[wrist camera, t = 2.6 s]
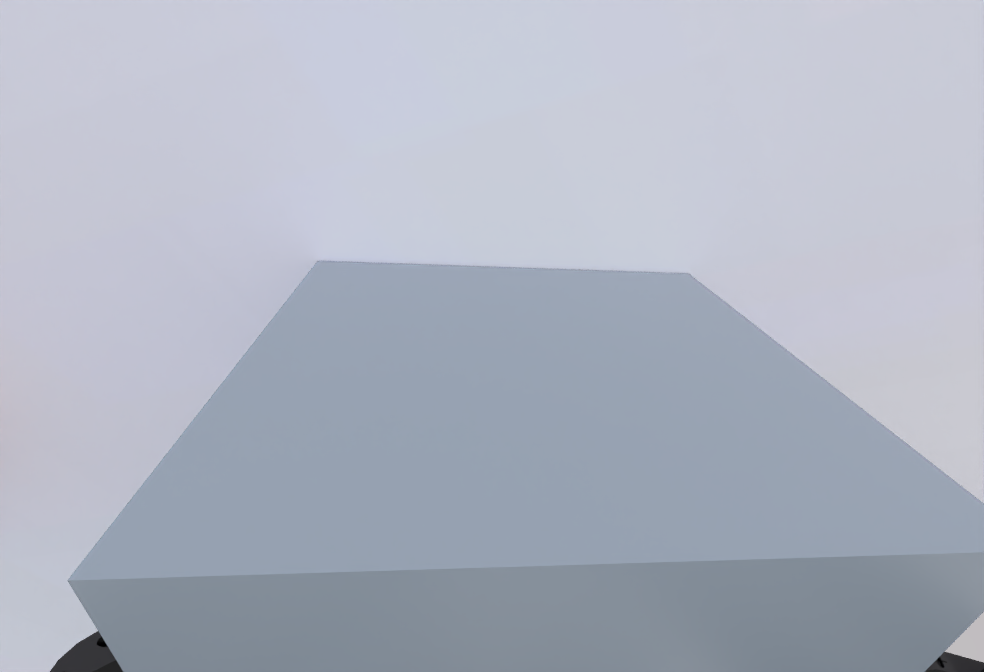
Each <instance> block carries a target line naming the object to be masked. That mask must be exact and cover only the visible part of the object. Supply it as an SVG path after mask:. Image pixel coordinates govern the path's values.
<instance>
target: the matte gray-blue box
mask: <svg viewBox="0 0 984 672" xmlns="http://www.w3.org/2000/svg"><path fill="white" fill-rule="evenodd" d="M68 582H69V584H70V585H71V587H72V589H73V590H74V592H75V594H76V595H77V597H78V599H79V600H80V602H81V603H82V605H83V607H84V608H85V610H86V612H87V613H88V615H89V616H90V618H91V620H92V621H93V623H94V625H95V626H96V628H97V629H98V631H99V633H100V634H101V636H102V638H103V639H104V641H105V643H106V644H107V646H108V647H109V649H110V651H111V652H112V654H113V656H114V657H115V659H116V660H117V662H118V664H119V665H120V667H121V669H122V670H123V672H925V671H926V670H927V669H928V668H929V667H930V666H931V665H932V664H933V663H934V662H935V661H936V660H937V659H938V658H939V657H940V656H941V655H942V653H943V652H944V651H945V650H946V649H947V648H948V647H949V646H950V645H951V644H952V643H953V642H954V641H955V640H956V639H957V638H958V637H959V636H960V635H961V634H962V633H963V632H964V631H965V630H966V629H967V628H968V627H969V626H970V625H971V624H972V623H973V622H974V621H975V620H976V619H977V618H978V617H979V616H980V615H981V614H982V613H983V612H984V504H983V503H982V502H981V501H980V500H978V499H977V498H976V497H974V496H973V495H972V494H971V493H969V492H968V491H967V490H966V489H964V488H963V487H962V486H960V485H959V484H958V483H957V482H955V481H954V480H953V479H951V478H950V477H949V476H948V475H946V474H945V473H944V472H942V471H941V470H940V469H939V468H937V467H936V466H935V465H933V464H932V463H931V462H930V461H928V460H927V459H926V458H925V457H923V456H922V455H921V454H919V453H918V452H917V451H916V450H914V449H913V448H912V447H910V446H909V445H908V444H907V443H905V442H904V441H903V440H901V439H900V438H899V437H898V436H896V435H895V434H894V433H892V432H891V431H890V430H889V429H887V428H886V427H885V426H884V425H882V424H881V423H880V422H878V421H877V420H876V419H875V418H873V417H872V416H871V415H869V414H868V413H867V412H866V411H864V410H863V409H862V408H860V407H859V406H858V405H857V404H855V403H854V402H853V401H851V400H850V399H849V398H848V397H846V396H845V395H844V394H843V393H841V392H840V391H839V390H837V389H836V388H835V387H834V386H832V385H831V384H830V383H828V382H827V381H826V380H825V379H823V378H822V377H821V376H819V375H818V374H817V373H816V372H814V371H813V370H812V369H811V368H809V367H808V366H807V365H805V364H804V363H803V362H802V361H800V360H799V359H798V358H796V357H795V356H794V355H793V354H791V353H790V352H789V351H787V350H786V349H785V348H784V347H782V346H781V345H780V344H778V343H777V342H776V341H775V340H773V339H772V338H771V337H770V336H768V335H767V334H766V333H764V332H763V331H762V330H761V329H759V328H758V327H757V326H755V325H754V324H753V323H752V322H750V321H749V320H748V319H746V318H745V317H744V316H743V315H741V314H740V313H739V312H737V311H736V310H735V309H734V308H732V307H731V306H730V305H729V304H727V303H726V302H725V301H723V300H722V299H721V298H720V297H718V296H717V295H716V294H714V293H713V292H712V291H711V290H709V289H708V288H707V287H705V286H704V285H703V284H702V283H700V282H699V281H698V280H696V279H695V278H694V277H693V276H691V275H690V274H685V273H656V272H627V271H598V270H568V269H539V268H510V267H481V266H452V265H423V264H394V263H364V262H335V261H317V263H316V264H315V265H314V266H313V268H312V269H311V270H310V272H309V273H308V274H307V275H306V277H305V278H304V279H303V281H302V282H301V283H300V284H299V286H298V287H297V288H296V289H295V291H294V292H293V293H292V295H291V296H290V297H289V298H288V300H287V301H286V302H285V303H284V305H283V306H282V307H281V309H280V310H279V311H278V312H277V314H276V315H275V316H274V318H273V319H272V320H271V321H270V323H269V324H268V325H267V326H266V328H265V329H264V330H263V332H262V333H261V334H260V335H259V337H258V338H257V339H256V341H255V342H254V343H253V344H252V346H251V347H250V348H249V349H248V351H247V352H246V353H245V355H244V356H243V357H242V358H241V360H240V361H239V362H238V363H237V365H236V366H235V367H234V369H233V370H232V371H231V372H230V374H229V375H228V376H227V378H226V379H225V380H224V381H223V383H222V384H221V385H220V386H219V388H218V389H217V390H216V392H215V393H214V394H213V395H212V397H211V398H210V399H209V401H208V402H207V403H206V404H205V406H204V407H203V408H202V409H201V411H200V412H199V413H198V415H197V416H196V417H195V418H194V420H193V421H192V422H191V423H190V425H189V426H188V427H187V429H186V430H185V431H184V432H183V434H182V435H181V436H180V438H179V439H178V440H177V441H176V443H175V444H174V445H173V446H172V448H171V449H170V450H169V452H168V453H167V454H166V455H165V457H164V458H163V459H162V461H161V462H160V463H159V464H158V466H157V467H156V468H155V469H154V471H153V472H152V473H151V475H150V476H149V477H148V478H147V480H146V481H145V482H144V484H143V485H142V486H141V487H140V489H139V490H138V491H137V492H136V494H135V495H134V496H133V498H132V499H131V500H130V501H129V503H128V504H127V505H126V506H125V508H124V509H123V510H122V512H121V513H120V514H119V515H118V517H117V518H116V519H115V521H114V522H113V523H112V524H111V526H110V527H109V528H108V529H107V531H106V532H105V533H104V535H103V536H102V537H101V538H100V540H99V541H98V542H97V544H96V545H95V546H94V547H93V549H92V550H91V551H90V552H89V554H88V555H87V556H86V558H85V559H84V560H83V561H82V563H81V564H80V565H79V566H78V568H77V569H76V570H75V572H74V573H73V574H72V575H71V577H70V578H69V579H68Z"/></svg>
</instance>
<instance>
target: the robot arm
mask: <svg viewBox="0 0 984 672" xmlns="http://www.w3.org/2000/svg"><path fill="white" fill-rule="evenodd" d="M50 672H123V670H122V669H121V667H120V665H119V664H118V662H117V660H116V659H115V657H114V656H113V654H112V652H111V651H110V649H109V647H108V646H107V644H106V643H105V641H104V639H103V638H102V636H101V634H100V633H99V631H98V632H96V633H94V634H92V635H91V636H89V637H87V638H86V639H84V640H82V641H80V642H79V643H77V644H76V645H75V646H74V647H73V648H72V649H70V650H69V651H68V652H67V653H66V654H65V655H64V656H63V657H61V658H60V659H59V660H58V661H57V663H56V664H55V666H54V667H53V668H52V670H51V671H50ZM925 672H984V663H983V662H979V661H976V660H972V659H969V658H965V657H961V656H958V655H954V654H951V653H947V652H943V653H942V655H941V656H940V657H939V658H938V659H937V660H936V661H935V662H934V663H933V664H932V665H931V666H930V667H929V668H928V669H927V670H926V671H925Z"/></svg>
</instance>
